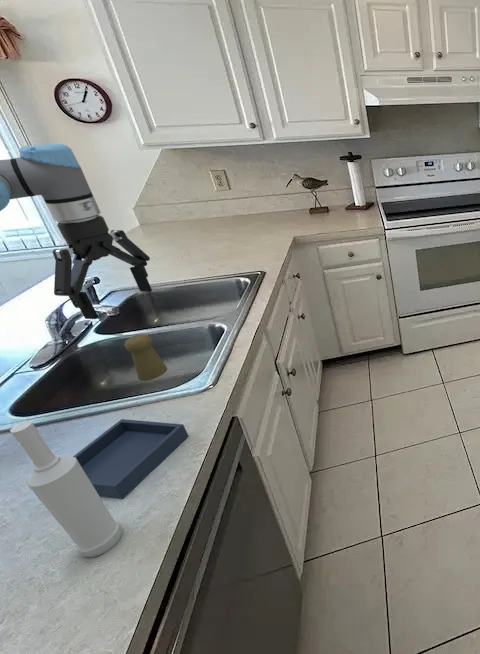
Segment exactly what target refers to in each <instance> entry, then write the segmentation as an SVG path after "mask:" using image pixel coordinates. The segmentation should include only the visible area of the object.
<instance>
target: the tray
mask: <svg viewBox="0 0 480 654" xmlns="http://www.w3.org/2000/svg"><path fill="white" fill-rule="evenodd" d="M188 437H189V433H188V431H187V430H186V427H185V425H184V424H183V423H172V422H171V423H169V422H161V421H160V422H159V421H147V420H139V419H138V420H137V419H136V420H135V419H125V418H121V419H119V420H118V421H117V422H115V423H114V424H113V425H112V426H110V427H109V428H108V429H107V430H106V431H103V433H101V434H100V435H99V436H97V438H95V439H94V440H92V441H91V442H90V443H88V444H87V445H86V446H85V447H83V448H82V449H81V450H79V451H78V452H77V453H75V454H74V455H73V457H75V458H76V459H77V461H78V462H79V464H80V465H81V467H82V469H83V470H84V472H85V474H86V475H87V477H88V479H89V480H90V482H91V483H92V485H93V487H94V488H95V490H96V492H97V493H98V495H99V496H100V497H103V498H111V499H119V500H123V499H124V498H125V497H127V496H128V494H130V493H131V492H132V491H133V490H134V489H135V488H136V487H137V486H138V485H140V483H141V482H142V481H143V480H144V479H145V478H146V477H147V476H148V475H150V474H151V473H152V472H153V471H154V470H155V469H156V468H157V467H158V466H159V465H161V463H162V462H163V461H165V459H166V458H167V457H169V455H170V454H172V453H173V452H174V451H175V450H176V449H177V448H178V447H179V446H180V445H181V444H182V443H183V442H184V441H185V440H186V439H187V438H188Z"/></svg>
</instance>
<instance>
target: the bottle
mask: <svg viewBox="0 0 480 654" xmlns="http://www.w3.org/2000/svg"><path fill="white" fill-rule="evenodd" d="M9 430H10V431H9V433H10V434H11V435H12V436H13V438H14V439H15V440H16V442H17V443H19V445H20V447H21V448H22V449H23V451H24V452H25V453H26V454H27V456H28V457H29V458H30V460H31V461H32V463H33V464H34V465H33V468H32V469H33V471H32V472H31V473H30V475H29V476H28V478H27V479H26V485H27V487H29V489H30V491H32V492H33V494H34V495H35V496H36V498H38V499H39V501H40V502H41V503H42V505H43V506H44V507H45V508H46V509H47V511H48V512H49V513H50V514H51V516H52V517H53V518H54V519H55V520H56V522H57V523H58V524H59V526H61V528H62V529H63V530H64V531H65V532H66V534H67V535H68V536H69V537H70V539H71V540H72V542H74V544H75V546H76V550H77V552H78V553H79V554H80V555H82V556H84V557H85V558H95V557H98V556H100V555H103V554H104V553H106V552H108V551H109V550H111V549H112V548H113V547H114V546H115V545H116V544H117V543H118V542H119V540H120V539H121V537H122V534H123V531H122V526H121V524H120V522H119V521H118V520H115V519H114V518H113V516H112V515H111V513H110V511H109V509H108V508H107V506H106V505H105V503H104V501H103V499H102V498H101V496H99V495H98V493H97V492H96V490H95V488H94V487H93V485H92V483H91V482H90V480H89V479H88V477H87V475H86V474H85V472H84V470H83V469H82V467H81V465H80V464H79V462H78V461H77V459H76V458H75V457H73V456H74V455H73V456H72V455H67V456H64V455H63V456H60V455H58V454H54V453H53V451H52V450H51V448H50V447H49V446H48V445H47V443H46V441H45V440H44V439H43V437H42V435H41V434H40V431H39V430H38V429H37V427H36V426H35V424H34V423H33V422H32V421H31V420H26V421H22V422H20V423H18V424H15V425H13V426H12V427H11V428H10V429H9Z"/></svg>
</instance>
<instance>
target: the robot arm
mask: <svg viewBox="0 0 480 654" xmlns="http://www.w3.org/2000/svg"><path fill="white" fill-rule="evenodd" d="M18 151H19V157H15V158H10V159H9V158H7V159H0V212H1V211H2V210H4V209H5V208H6V207H8V205H9V203H10V201H11V200H15V199H22V198H23V199H24V198H29V197H31V198H32V197H37V196H41V197H42V199H43V201H44V202H45V205H46V206H47V209H48V211H49V213H50V215H51V217H52V219H53V221H55V222H58V223H57V225H56V226H57V228H58V230H59V232H60V234H61V236H62V238H63V239H64V240H65V241H66V242H67V245H68V247H65V248H54V249H53V250H52V254H53V257H54V260H55V266H54V285H53V286H54V287H53V294H54V296H56V297H57V296H58V297H59V296H60V297H68V298H69V300H70V302H71V303H72V305H73V307H74V308H76V309H79V311H80V312H81V314H82V316H83V317H84V319H85V320H97V319H99V318H100V317H99V315H98V313H97V310H96V309H95V307H94V305H93V303H92V301H91V299H90V298H89V296H88V293H87V292H86V291H82V289H83V286H84V283H85V280H86V277H87V274H88V271H89V268H90V266H92V264H93V262H95V261H98V260H100V259H102V258H105V257H108V256H112V257H114V258H116V259H118V260H120V261H122V262H124V263H127V264H129V265H130V266H131V267H129V270H130V272H131V274H132V277H133V279H134V281H135V283H136V286H137V287H138V290H139V291H140V292H147V293H148V292H152V291H153V289H152V287H151V285H150V282H149V280H148V277H149V274H148V272H147V269H146V266H148V262H149V261H150V260H151V258H150V256H149V255H148V254H146V253H145V251H144V250H142V249H141V248H140V247H139V246H137V244H135V243H134V242H133V241H132V240H131V239H130V238H128V236H127V234H126V233H125V231H124V230H122V229H111V230H109V226H108V224H107V221H106V220H105V218H104V216H102V215H100V214H101V209H100V207H99V205H98V203H97V201H96V199H95V196H94V195H93V192H92V189H91V188H90V185H89V184H88V181H87V179H86V175H85V173H84V172H83V169H82V167H81V165H80V163H79V161H78V159H77V157H76V155H75V154H74V151H73V150H72V148H71V147H69V146H68V145H65V144H62V143H45V144H37V145H36V144H35V145H27V146H22V147H20V148H19V150H18ZM109 231H110V232H109ZM114 241H115V242H116V243H117V244H118V245H119V246H120V247H121V248H122V249H124V250H125V251H126V252H125V251H123V250H122V249H121V248H119V247H117V246H116V245H114V244H113V242H114ZM72 259H73V260H72Z"/></svg>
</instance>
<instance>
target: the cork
mask: <svg viewBox="0 0 480 654" xmlns="http://www.w3.org/2000/svg"><path fill="white" fill-rule="evenodd" d="M123 346H124V348H125V349H126V351H127V352H129V353H130V354H131V358H132V361H133V365H134V369H135V371H136V376H137V379H138V380H139V381H141V382H142V381H143V382H147V381H151V380H154V379H157V378H159V377H162V376H163V375H164V374H165V373H166V372H167V371H168V366H167V365H166V364H165V363H164V361H163V360H162V358H161V357H160V356H159V354H158V352H157V351H156V350H155V348H154V347H153V339H152V337H151V336H150V335H148V334H145V333H141V334H135V335H132V336H131V337H129V338H127V339H126V340H125V342H124V345H123Z"/></svg>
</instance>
